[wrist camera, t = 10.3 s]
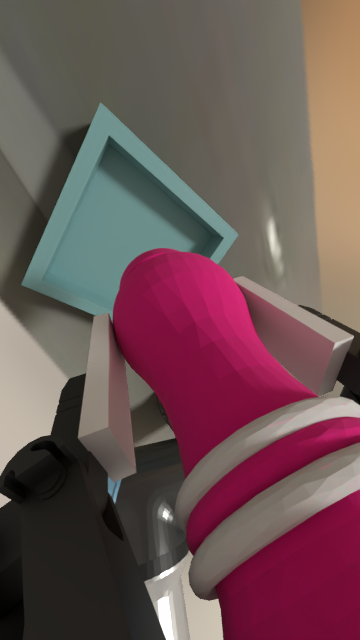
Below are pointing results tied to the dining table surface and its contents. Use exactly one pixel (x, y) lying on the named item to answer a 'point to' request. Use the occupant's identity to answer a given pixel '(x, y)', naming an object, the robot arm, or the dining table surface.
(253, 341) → the pepper mill
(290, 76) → the dining table surface
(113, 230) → the tray
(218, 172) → the dining table surface
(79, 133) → the dining table surface
